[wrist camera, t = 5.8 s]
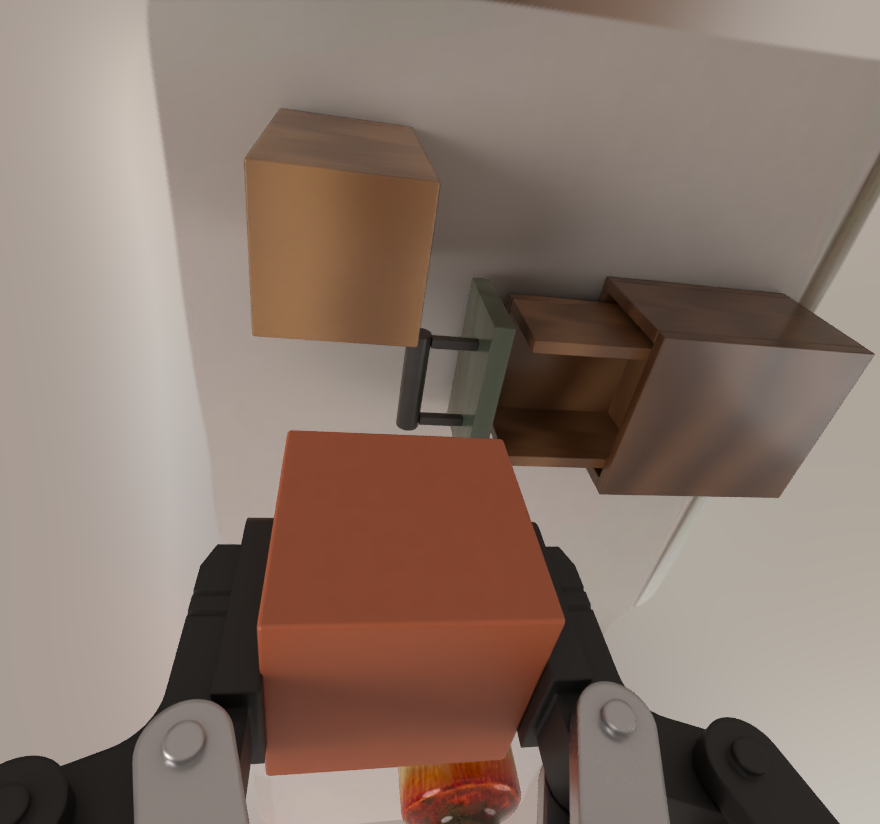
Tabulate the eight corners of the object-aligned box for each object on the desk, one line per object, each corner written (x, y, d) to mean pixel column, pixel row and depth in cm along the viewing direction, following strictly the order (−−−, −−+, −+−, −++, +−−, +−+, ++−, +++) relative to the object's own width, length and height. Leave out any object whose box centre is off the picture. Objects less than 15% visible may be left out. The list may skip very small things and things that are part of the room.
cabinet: (559, 417, 44) (599, 494, 37) (606, 275, 37) (664, 337, 30) (715, 424, 46) (779, 498, 39) (784, 293, 40) (875, 354, 33)
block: (288, 575, 14) (265, 778, 10) (287, 428, 11) (255, 628, 8) (467, 574, 15) (505, 761, 11) (503, 437, 12) (567, 621, 8)
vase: (409, 622, 57) (432, 872, 40) (505, 631, 60) (563, 866, 43) (379, 680, 62) (389, 920, 46) (468, 686, 65) (508, 912, 49)
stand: (281, 240, 33) (252, 336, 23) (279, 108, 29) (243, 157, 19) (399, 252, 34) (417, 348, 25) (412, 126, 30) (441, 182, 21)
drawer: (389, 410, 40) (395, 473, 35) (405, 270, 34) (415, 321, 29) (605, 420, 43) (642, 479, 38) (654, 294, 37) (706, 343, 32)
